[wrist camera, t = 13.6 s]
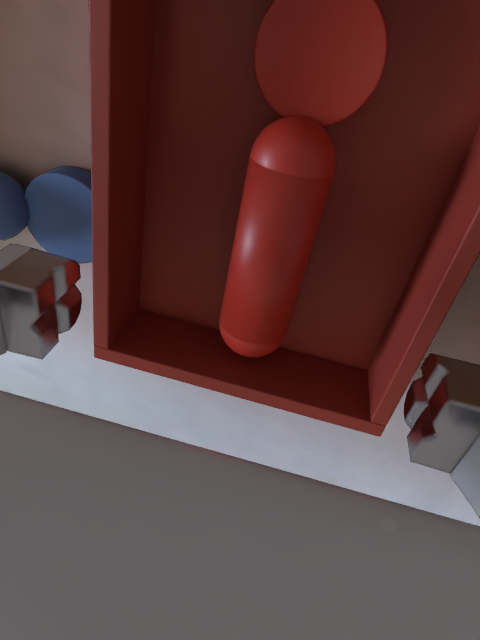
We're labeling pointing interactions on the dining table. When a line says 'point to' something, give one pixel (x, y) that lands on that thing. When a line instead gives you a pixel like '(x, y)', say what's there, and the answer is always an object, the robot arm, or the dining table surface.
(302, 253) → the red spoon
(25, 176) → the dining table surface
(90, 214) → the blue spoon
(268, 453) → the dining table surface
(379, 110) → the red bin
